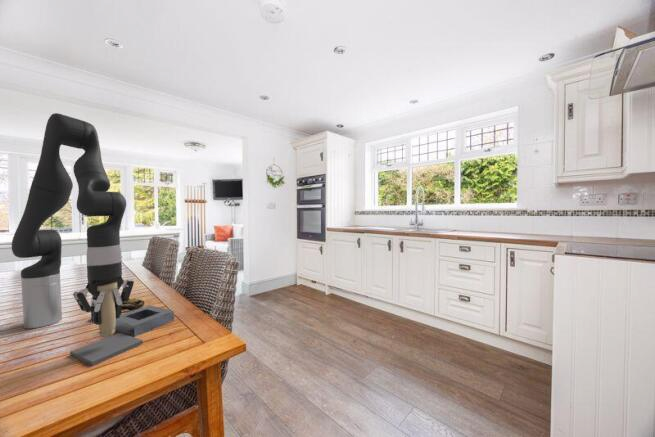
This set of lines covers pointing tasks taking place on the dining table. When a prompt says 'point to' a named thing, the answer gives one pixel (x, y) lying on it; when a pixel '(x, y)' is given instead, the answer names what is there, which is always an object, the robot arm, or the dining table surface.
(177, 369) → the dining table surface
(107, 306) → the handle
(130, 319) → the holder
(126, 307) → the toy snake
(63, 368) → the dining table surface
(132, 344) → the mat
